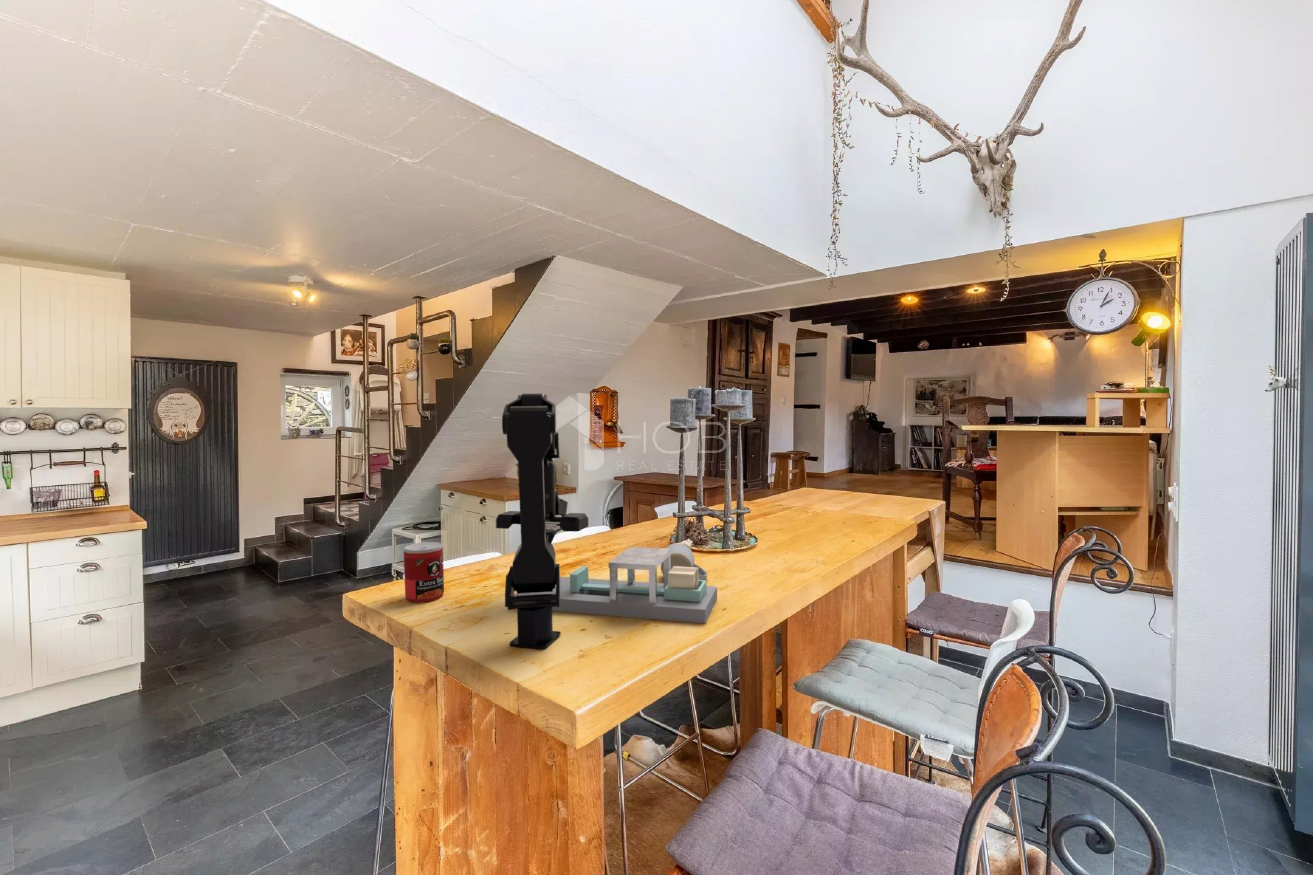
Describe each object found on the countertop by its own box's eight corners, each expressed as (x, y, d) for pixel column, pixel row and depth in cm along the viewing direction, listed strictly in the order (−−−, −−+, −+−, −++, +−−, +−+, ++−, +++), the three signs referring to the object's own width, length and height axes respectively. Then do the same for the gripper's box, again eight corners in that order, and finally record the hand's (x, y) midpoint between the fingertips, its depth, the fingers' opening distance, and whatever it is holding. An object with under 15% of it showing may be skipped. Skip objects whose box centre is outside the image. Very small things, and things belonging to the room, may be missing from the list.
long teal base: (700, 601, 104) (699, 583, 104) (569, 592, 111) (568, 575, 111) (706, 590, 111) (706, 572, 111) (582, 582, 118) (582, 565, 118)
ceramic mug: (660, 584, 124) (660, 550, 124) (661, 574, 133) (662, 542, 132) (707, 585, 124) (708, 551, 124) (706, 575, 132) (706, 543, 132)
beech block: (693, 600, 106) (693, 574, 106) (668, 598, 107) (667, 572, 107) (698, 592, 111) (698, 567, 110) (674, 590, 112) (673, 566, 112)
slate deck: (705, 623, 101) (705, 609, 101) (513, 607, 111) (513, 595, 111) (717, 598, 114) (716, 586, 114) (545, 586, 124) (545, 575, 124)
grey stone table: (655, 604, 104) (654, 564, 103) (609, 601, 106) (608, 562, 106) (671, 584, 116) (670, 548, 116) (630, 581, 118) (629, 546, 118)
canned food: (418, 605, 113) (416, 552, 112) (397, 598, 118) (396, 546, 117) (452, 595, 119) (450, 544, 118) (431, 589, 124) (429, 540, 123)
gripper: (597, 483, 121) (598, 554, 122) (519, 482, 126) (521, 550, 127) (576, 490, 111) (578, 568, 111) (493, 488, 115) (495, 563, 116)
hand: (542, 561), depth 117 cm, fingers closed
